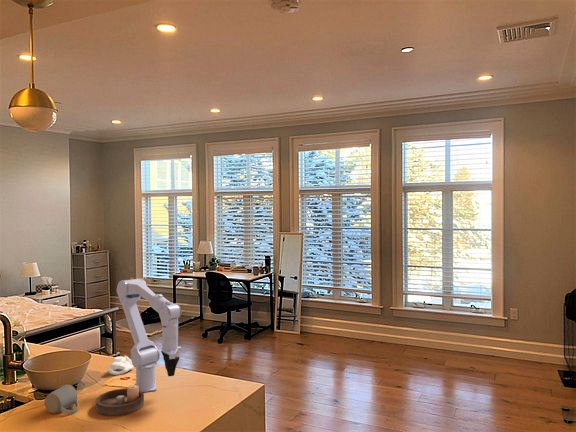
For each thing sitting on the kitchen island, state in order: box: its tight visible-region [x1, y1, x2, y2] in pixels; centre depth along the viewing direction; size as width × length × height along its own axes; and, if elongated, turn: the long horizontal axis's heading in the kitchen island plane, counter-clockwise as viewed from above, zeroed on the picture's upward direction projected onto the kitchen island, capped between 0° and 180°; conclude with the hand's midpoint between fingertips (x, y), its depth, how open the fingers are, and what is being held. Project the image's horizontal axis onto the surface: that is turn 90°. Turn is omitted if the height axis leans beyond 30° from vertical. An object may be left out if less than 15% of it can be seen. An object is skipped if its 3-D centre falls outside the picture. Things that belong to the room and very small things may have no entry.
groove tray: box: [95, 388, 145, 417], centre depth 160 cm, size 16×16×3 cm
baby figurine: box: [107, 354, 134, 376], centre depth 195 cm, size 9×12×8 cm
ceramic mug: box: [44, 384, 79, 415], centre depth 156 cm, size 11×8×8 cm
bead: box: [126, 385, 139, 403], centre depth 161 cm, size 4×4×5 cm
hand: (169, 372), depth 168 cm, fingers open, 7 cm apart
